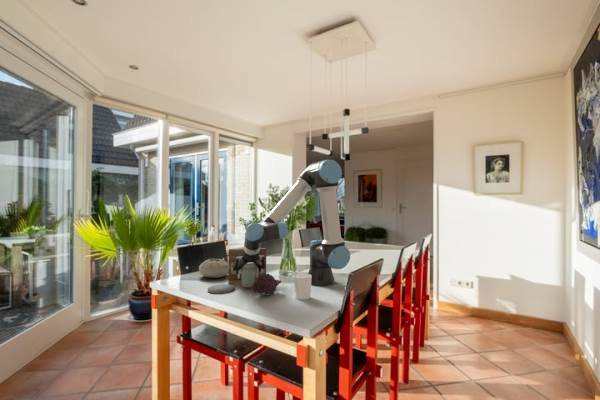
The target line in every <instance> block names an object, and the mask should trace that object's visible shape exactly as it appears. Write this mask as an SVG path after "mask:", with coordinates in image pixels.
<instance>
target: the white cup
mask: <svg viewBox="0 0 600 400" xmlns="http://www.w3.org/2000/svg"><path fill="white" fill-rule="evenodd" d="M311 281H312V275H310V274H308V273H296V274H294V292H295V298H296V299H297V300H301V301H306V300H309V299H311V292H312V285H311Z"/></svg>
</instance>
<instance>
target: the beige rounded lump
mask: <svg viewBox="0 0 600 400" xmlns="http://www.w3.org/2000/svg"><path fill="white" fill-rule="evenodd" d="M198 272H199V274H200V275H202V276H203V277H204V278H213V279H217V278H223V277H225V276H227V275H229V261H228V262H227V261H226V260H224V259H222V258H208V259H206V260H204V261H203V262H201V263H200V265H199V266H198Z"/></svg>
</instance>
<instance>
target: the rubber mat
mask: <svg viewBox="0 0 600 400" xmlns="http://www.w3.org/2000/svg"><path fill="white" fill-rule="evenodd" d="M235 287H236V286H235V285H234V284H228V283H225V284H224V283H223V284H222V283H221V284H219V283H218V284H215V285H211V286H209V287H207V293H209V294H214V295H222V294H223V295H224V294H228V293H232V292H234V291H235V290H236V288H235Z"/></svg>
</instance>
